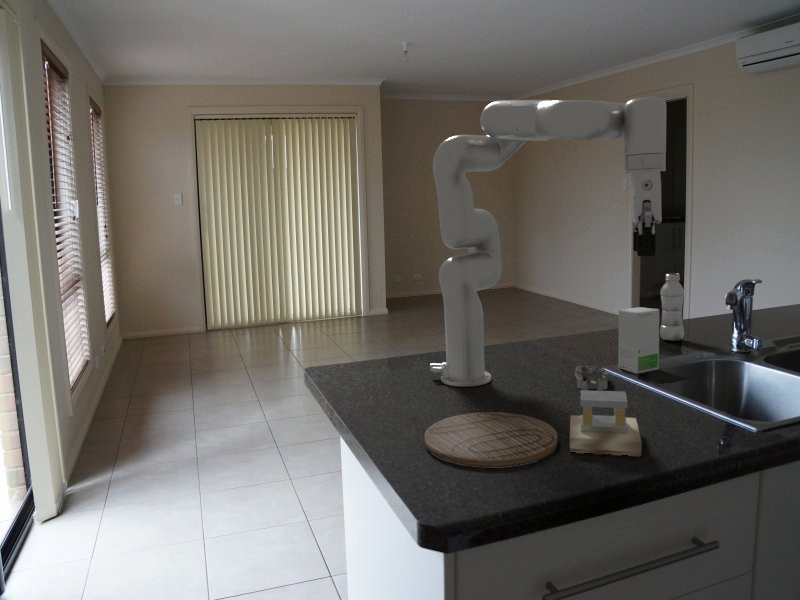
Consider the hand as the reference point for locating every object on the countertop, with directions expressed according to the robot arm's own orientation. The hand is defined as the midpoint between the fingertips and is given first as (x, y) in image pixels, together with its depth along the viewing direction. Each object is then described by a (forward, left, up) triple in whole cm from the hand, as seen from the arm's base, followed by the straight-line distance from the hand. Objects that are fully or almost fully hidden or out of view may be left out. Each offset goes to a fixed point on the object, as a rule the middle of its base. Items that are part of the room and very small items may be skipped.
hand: (643, 253), depth 130 cm
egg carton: (-10, +22, -34) cm, 41 cm away
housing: (-8, -16, -30) cm, 35 cm away
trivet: (-29, -18, -34) cm, 48 cm away
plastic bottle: (+14, +69, -34) cm, 78 cm away
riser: (-8, -16, -33) cm, 38 cm away
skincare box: (+2, +36, -34) cm, 49 cm away
